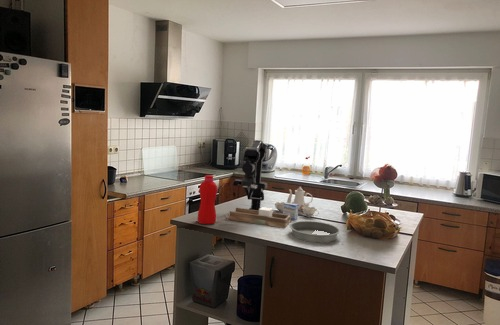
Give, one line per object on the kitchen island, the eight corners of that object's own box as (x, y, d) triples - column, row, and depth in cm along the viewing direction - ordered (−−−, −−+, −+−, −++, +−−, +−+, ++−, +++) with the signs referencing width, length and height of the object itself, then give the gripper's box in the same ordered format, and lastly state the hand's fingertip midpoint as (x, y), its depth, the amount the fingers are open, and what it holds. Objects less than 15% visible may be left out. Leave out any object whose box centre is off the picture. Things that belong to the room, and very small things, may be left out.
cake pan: (305, 226, 209) (306, 218, 209) (347, 237, 194) (348, 228, 194) (279, 235, 190) (279, 226, 190) (323, 248, 175) (324, 238, 175)
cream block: (261, 215, 217) (262, 207, 216) (271, 217, 215) (272, 208, 214) (258, 218, 211) (258, 209, 210) (268, 219, 209) (269, 210, 208)
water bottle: (213, 219, 211) (216, 173, 208) (216, 224, 200) (219, 177, 197) (196, 219, 209) (199, 173, 206) (198, 224, 198) (200, 176, 195)
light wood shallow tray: (236, 213, 226) (237, 207, 225) (290, 221, 216) (291, 214, 216) (228, 219, 213) (228, 212, 212) (285, 227, 203) (285, 220, 202)
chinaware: (270, 215, 235) (271, 188, 231) (278, 207, 250) (279, 182, 247) (316, 222, 225) (318, 194, 222) (321, 213, 241) (323, 187, 237)
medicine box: (282, 218, 223) (283, 203, 222) (285, 216, 227) (286, 202, 226) (295, 220, 219) (296, 205, 218) (297, 218, 223) (299, 204, 222)
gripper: (229, 171, 208) (227, 199, 210) (262, 175, 203) (260, 204, 204) (236, 169, 219) (235, 196, 221) (268, 172, 213) (266, 200, 215)
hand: (248, 199), depth 215 cm, fingers closed
